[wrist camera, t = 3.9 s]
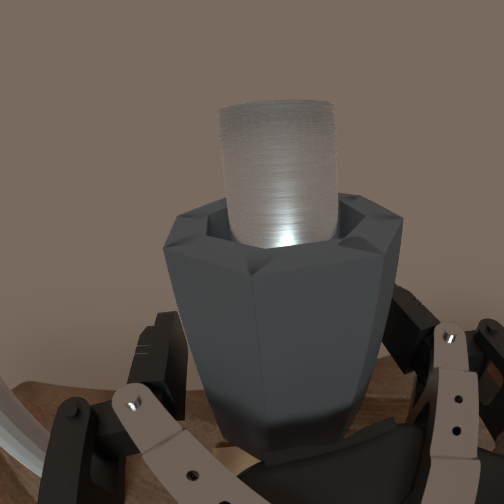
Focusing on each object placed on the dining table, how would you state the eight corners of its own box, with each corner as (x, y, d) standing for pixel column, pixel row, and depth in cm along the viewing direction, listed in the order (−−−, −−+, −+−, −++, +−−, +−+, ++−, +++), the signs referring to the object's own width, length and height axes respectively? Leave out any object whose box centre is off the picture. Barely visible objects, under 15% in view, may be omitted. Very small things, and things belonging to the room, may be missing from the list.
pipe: (95, 473, 21) (-67, 250, 8) (136, 489, 20) (-49, 246, 7) (81, 504, 16) (-113, 288, 3) (124, 525, 15) (-112, 297, 2)
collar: (330, 349, 14) (339, 185, 11) (373, 440, 9) (446, 243, 5) (218, 368, 14) (183, 202, 10) (226, 472, 8) (145, 289, 4)
